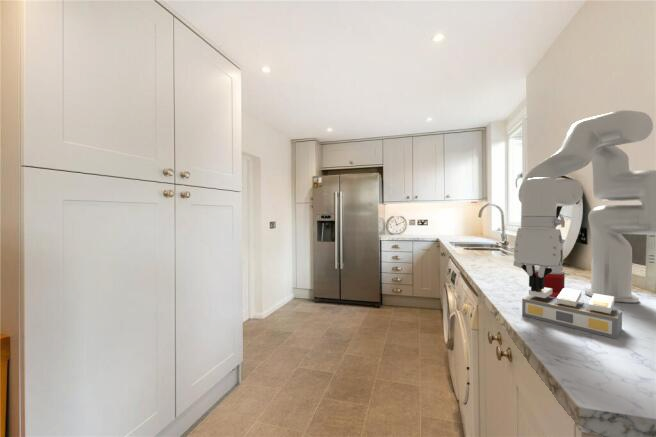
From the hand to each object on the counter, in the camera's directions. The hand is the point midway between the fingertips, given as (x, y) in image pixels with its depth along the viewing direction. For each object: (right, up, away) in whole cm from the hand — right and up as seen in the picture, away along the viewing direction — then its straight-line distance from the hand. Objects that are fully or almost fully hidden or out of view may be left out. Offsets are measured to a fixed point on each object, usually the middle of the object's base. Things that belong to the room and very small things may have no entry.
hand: (536, 290), depth 72 cm
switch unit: (+6, -7, -3) cm, 10 cm away
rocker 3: (+10, -1, -7) cm, 13 cm away
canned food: (+12, -8, +11) cm, 18 cm away
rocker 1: (+3, -1, +2) cm, 4 cm away
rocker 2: (+6, -1, -3) cm, 7 cm away
